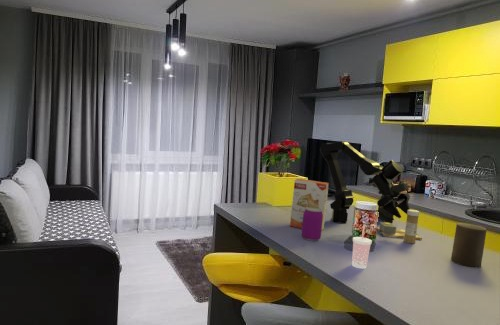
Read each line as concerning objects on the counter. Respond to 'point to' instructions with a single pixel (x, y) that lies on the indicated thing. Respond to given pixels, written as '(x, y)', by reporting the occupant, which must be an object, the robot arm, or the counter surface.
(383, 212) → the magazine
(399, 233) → the plywood board
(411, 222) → the sprinkles bottle
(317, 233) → the beverage can
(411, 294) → the counter surface
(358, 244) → the beverage cup
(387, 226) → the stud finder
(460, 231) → the pillar candle
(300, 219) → the cracker box
